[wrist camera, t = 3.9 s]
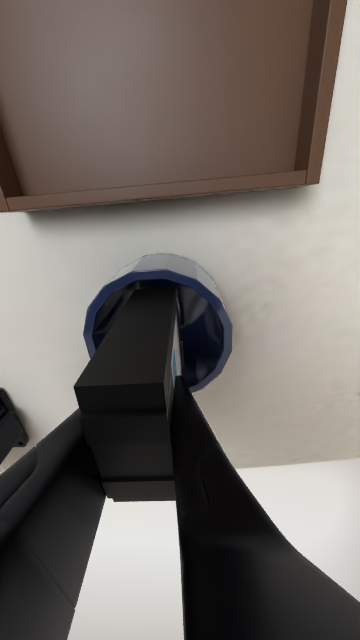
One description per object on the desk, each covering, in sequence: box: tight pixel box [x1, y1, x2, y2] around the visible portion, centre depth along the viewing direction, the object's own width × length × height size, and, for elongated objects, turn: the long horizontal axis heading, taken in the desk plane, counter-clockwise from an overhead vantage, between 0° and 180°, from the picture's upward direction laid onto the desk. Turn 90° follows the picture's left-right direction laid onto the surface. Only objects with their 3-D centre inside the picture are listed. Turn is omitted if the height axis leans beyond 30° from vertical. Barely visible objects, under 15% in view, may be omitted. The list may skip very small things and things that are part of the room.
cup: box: [83, 254, 232, 393], centre depth 14 cm, size 8×8×4 cm
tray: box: [0, 0, 347, 212], centre depth 9 cm, size 15×11×2 cm
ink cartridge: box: [74, 287, 185, 502], centre depth 10 cm, size 5×2×8 cm, turn 4°
